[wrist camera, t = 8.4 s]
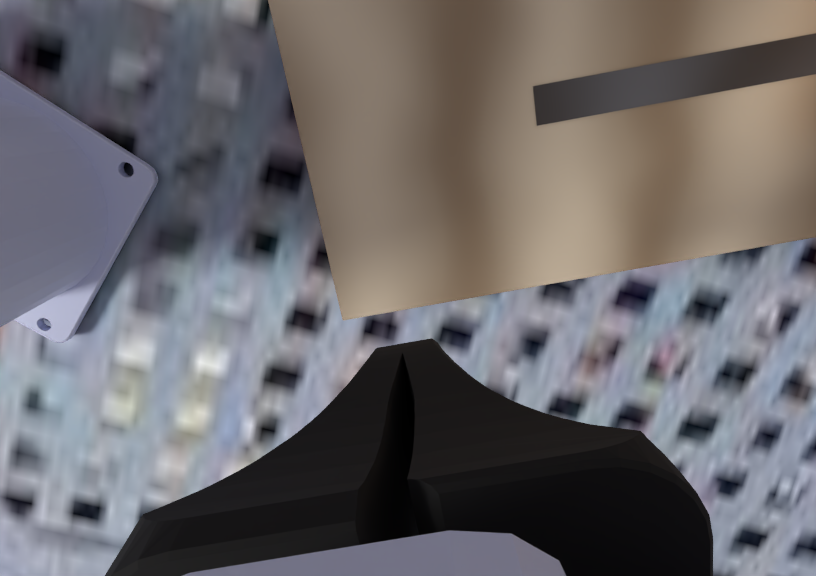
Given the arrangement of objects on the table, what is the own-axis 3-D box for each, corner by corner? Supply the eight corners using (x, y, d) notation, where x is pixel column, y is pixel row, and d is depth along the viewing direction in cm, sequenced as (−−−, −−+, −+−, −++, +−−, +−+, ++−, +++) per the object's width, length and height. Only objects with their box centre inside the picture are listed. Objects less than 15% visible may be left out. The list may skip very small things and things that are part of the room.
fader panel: (347, 301, 21) (342, 320, 19) (268, -46, 17) (252, -65, 15) (916, 200, 20) (971, 210, 18) (965, -183, 16) (1041, -222, 15)
